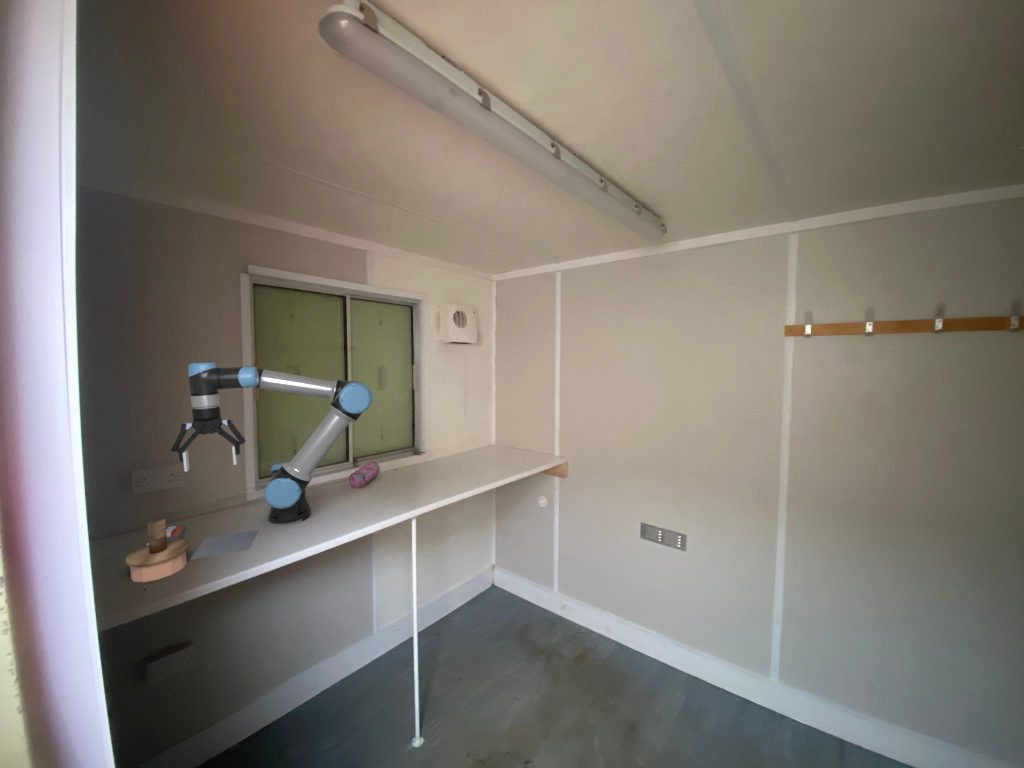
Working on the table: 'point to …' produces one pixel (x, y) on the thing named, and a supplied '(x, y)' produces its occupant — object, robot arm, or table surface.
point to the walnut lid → (157, 547)
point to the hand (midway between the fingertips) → (212, 467)
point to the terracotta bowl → (158, 569)
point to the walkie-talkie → (174, 532)
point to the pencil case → (364, 474)
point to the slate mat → (225, 544)
